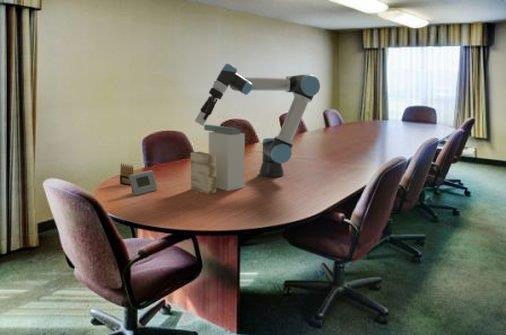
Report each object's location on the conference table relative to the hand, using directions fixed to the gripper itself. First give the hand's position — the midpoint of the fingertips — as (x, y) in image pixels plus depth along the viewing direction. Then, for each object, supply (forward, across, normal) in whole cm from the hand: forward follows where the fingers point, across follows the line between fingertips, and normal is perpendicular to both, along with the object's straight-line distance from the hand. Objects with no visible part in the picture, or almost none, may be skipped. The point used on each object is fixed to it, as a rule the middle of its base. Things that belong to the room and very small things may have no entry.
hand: (198, 123), depth 252 cm
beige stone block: (+30, +16, +17) cm, 38 cm away
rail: (-2, +5, +12) cm, 13 cm away
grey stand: (+22, +10, +29) cm, 38 cm away
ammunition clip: (+50, -6, -16) cm, 53 cm away
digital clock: (+46, +13, -9) cm, 49 cm away
